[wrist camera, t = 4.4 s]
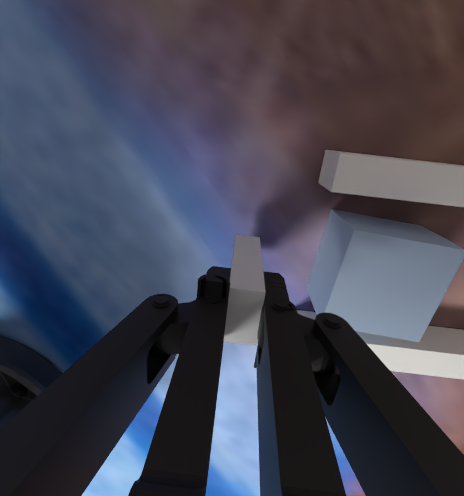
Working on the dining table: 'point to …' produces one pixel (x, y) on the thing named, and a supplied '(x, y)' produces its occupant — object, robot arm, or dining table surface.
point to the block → (382, 274)
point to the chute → (409, 189)
